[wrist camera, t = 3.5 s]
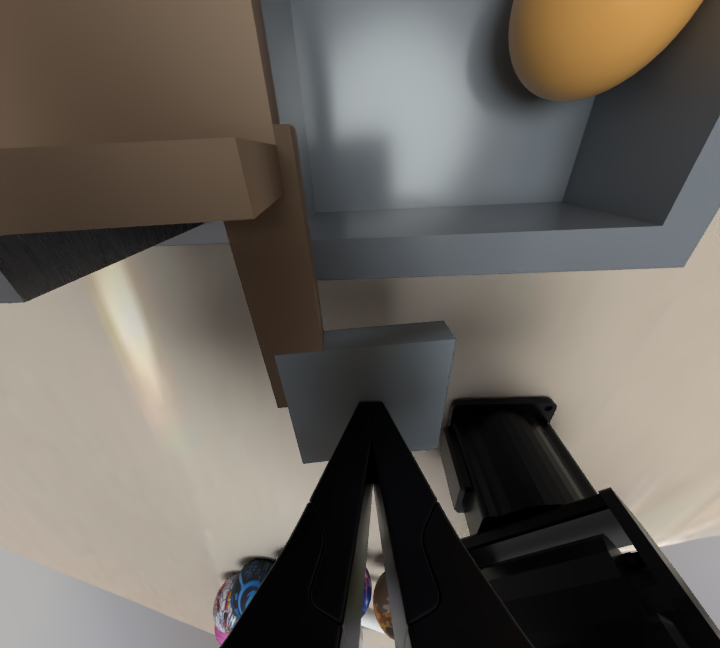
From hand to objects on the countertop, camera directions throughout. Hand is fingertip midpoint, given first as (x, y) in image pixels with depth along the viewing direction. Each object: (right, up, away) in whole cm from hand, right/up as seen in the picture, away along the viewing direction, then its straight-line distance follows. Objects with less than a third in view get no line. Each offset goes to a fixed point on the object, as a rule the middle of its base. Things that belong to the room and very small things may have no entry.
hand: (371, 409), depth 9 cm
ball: (+6, +11, -2) cm, 12 cm away
